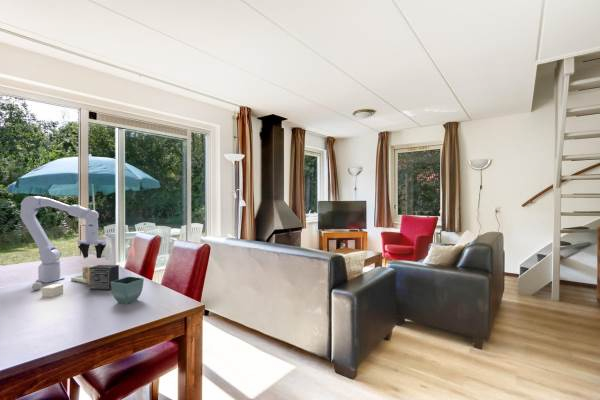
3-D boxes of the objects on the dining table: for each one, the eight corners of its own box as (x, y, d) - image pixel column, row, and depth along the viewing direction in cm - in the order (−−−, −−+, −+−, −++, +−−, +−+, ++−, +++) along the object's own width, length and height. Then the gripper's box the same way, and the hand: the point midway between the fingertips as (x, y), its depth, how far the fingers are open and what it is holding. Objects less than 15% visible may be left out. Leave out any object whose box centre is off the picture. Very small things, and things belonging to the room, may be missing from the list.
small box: (120, 286, 142) (119, 264, 142) (110, 290, 136) (109, 268, 136) (99, 285, 143) (99, 264, 143) (88, 289, 137) (88, 267, 137)
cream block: (42, 296, 128) (42, 287, 128) (52, 293, 133) (52, 284, 133) (53, 297, 128) (53, 288, 128) (63, 293, 133) (63, 284, 133)
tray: (71, 280, 151) (71, 277, 151) (95, 274, 162) (95, 271, 162) (86, 283, 146) (86, 280, 146) (110, 277, 157) (110, 273, 157)
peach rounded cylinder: (85, 284, 145) (84, 274, 145) (94, 282, 149) (94, 272, 149) (90, 285, 143) (90, 275, 143) (99, 283, 147) (99, 273, 147)
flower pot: (144, 299, 125) (144, 278, 125) (126, 306, 117) (126, 284, 117) (129, 296, 128) (128, 276, 128) (110, 303, 120) (109, 281, 119)
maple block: (82, 278, 152) (82, 267, 152) (91, 276, 157) (91, 265, 156) (88, 279, 151) (88, 268, 151) (97, 277, 155) (97, 266, 155)
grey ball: (30, 290, 136) (29, 282, 136) (39, 288, 139) (39, 280, 139) (34, 291, 134) (34, 283, 134) (44, 289, 138) (43, 281, 138)
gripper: (73, 233, 156) (73, 259, 156) (98, 233, 155) (99, 259, 155) (84, 231, 163) (84, 256, 163) (108, 232, 162) (109, 256, 162)
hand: (92, 257), depth 159 cm, fingers open, 7 cm apart
